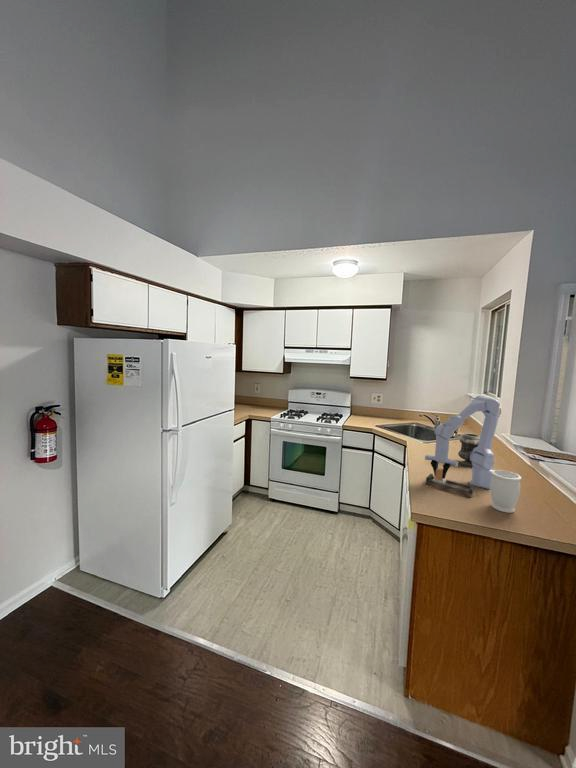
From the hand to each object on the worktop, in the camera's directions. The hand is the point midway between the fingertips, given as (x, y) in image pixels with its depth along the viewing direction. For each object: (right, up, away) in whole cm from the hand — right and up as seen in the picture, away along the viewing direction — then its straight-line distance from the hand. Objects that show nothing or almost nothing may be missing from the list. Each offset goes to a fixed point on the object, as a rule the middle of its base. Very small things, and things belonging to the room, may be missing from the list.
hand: (439, 476), depth 155 cm
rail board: (+4, -5, -3) cm, 6 cm away
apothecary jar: (+32, -2, +32) cm, 45 cm away
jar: (+16, -7, -21) cm, 28 cm away
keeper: (0, -3, 0) cm, 3 cm away
